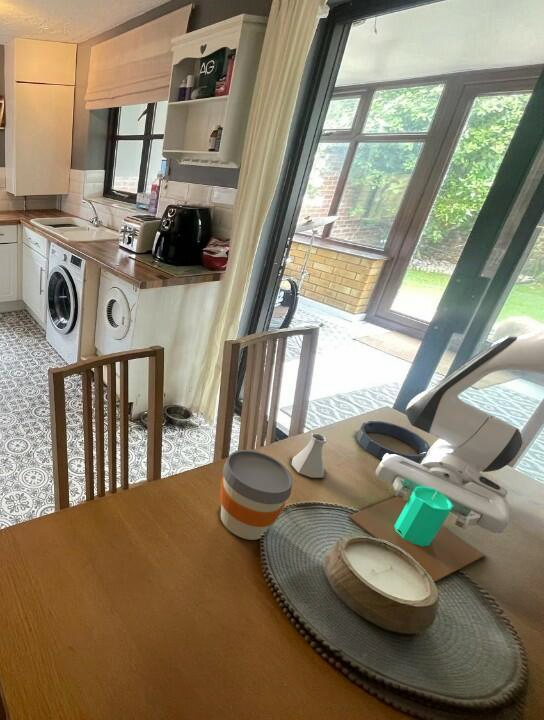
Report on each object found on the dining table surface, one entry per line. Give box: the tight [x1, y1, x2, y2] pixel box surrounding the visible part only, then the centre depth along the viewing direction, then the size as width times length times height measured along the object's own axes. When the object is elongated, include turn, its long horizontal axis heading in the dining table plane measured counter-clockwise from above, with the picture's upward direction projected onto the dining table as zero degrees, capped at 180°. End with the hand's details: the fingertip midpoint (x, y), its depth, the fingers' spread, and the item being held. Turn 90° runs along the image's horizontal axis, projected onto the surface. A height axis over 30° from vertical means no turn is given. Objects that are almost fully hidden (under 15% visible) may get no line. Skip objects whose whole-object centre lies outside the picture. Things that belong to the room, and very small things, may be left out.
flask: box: [291, 432, 327, 479], centre depth 102 cm, size 7×7×10 cm
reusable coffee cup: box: [219, 449, 294, 541], centre depth 86 cm, size 13×13×15 cm
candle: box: [394, 486, 453, 546], centre depth 84 cm, size 6×6×12 cm
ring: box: [356, 420, 431, 464], centre depth 110 cm, size 14×14×4 cm
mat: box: [348, 496, 485, 583], centre depth 86 cm, size 16×16×1 cm
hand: (429, 508), depth 82 cm, fingers open, 8 cm apart
